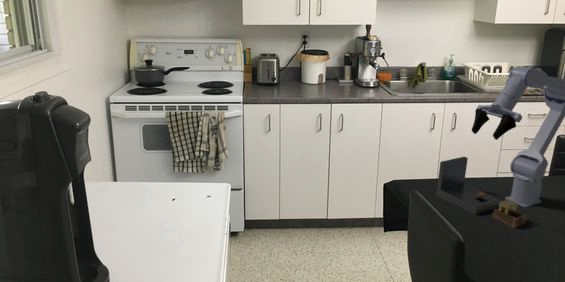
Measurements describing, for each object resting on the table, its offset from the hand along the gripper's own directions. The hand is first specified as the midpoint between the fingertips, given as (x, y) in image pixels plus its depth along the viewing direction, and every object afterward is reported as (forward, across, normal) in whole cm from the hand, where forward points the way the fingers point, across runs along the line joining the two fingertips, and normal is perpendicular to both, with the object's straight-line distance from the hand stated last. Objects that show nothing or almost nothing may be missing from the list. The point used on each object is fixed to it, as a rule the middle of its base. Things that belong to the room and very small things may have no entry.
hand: (483, 134), depth 148 cm
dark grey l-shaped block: (+14, -11, +26) cm, 32 cm away
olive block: (+15, +5, +26) cm, 30 cm away
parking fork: (+15, +5, +26) cm, 31 cm away
